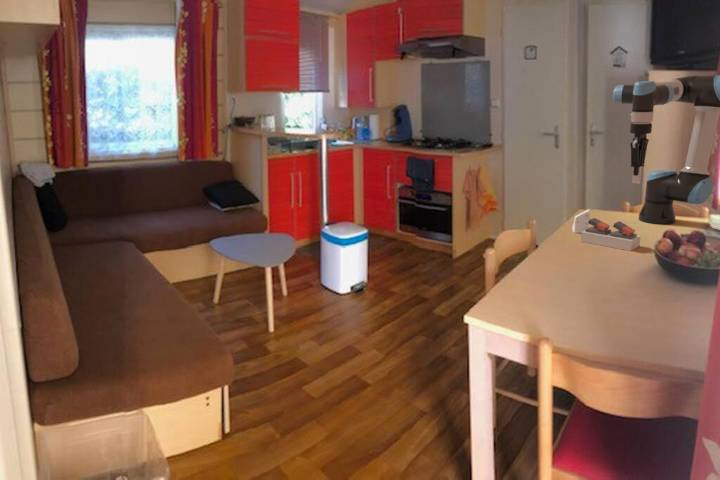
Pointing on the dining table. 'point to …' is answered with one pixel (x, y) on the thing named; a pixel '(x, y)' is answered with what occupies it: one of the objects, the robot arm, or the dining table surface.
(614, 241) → the power strip
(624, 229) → the rocker
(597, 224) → the rocker
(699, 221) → the dining table surface
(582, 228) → the white wedge bracket
